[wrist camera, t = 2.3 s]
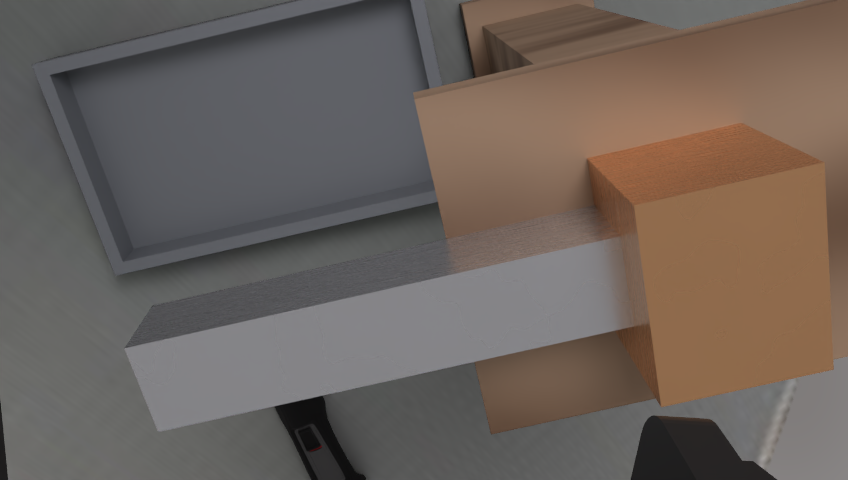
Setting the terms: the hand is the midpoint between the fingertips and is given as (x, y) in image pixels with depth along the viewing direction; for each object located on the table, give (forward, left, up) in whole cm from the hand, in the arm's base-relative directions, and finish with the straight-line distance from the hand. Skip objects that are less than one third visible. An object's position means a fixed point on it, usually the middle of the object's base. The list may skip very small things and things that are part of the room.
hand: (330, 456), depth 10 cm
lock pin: (+3, 0, -11) cm, 11 cm away
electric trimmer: (+12, -25, -44) cm, 52 cm away
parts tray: (-3, -8, -43) cm, 44 cm away
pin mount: (+7, +4, -43) cm, 44 cm away
